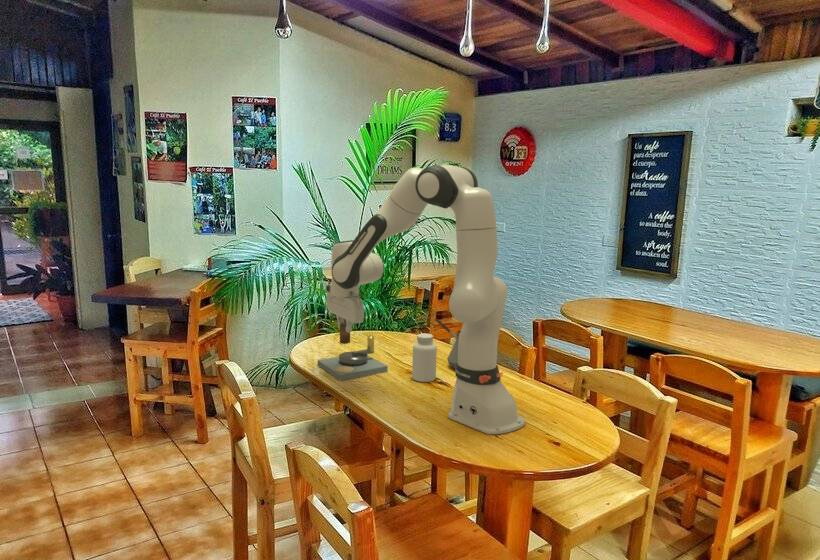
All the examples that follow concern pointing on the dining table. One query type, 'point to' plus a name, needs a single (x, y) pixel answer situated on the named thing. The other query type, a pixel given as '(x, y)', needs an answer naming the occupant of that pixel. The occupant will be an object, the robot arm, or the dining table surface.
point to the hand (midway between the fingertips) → (344, 330)
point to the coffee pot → (454, 352)
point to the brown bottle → (344, 333)
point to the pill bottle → (424, 358)
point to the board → (351, 368)
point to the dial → (357, 354)
